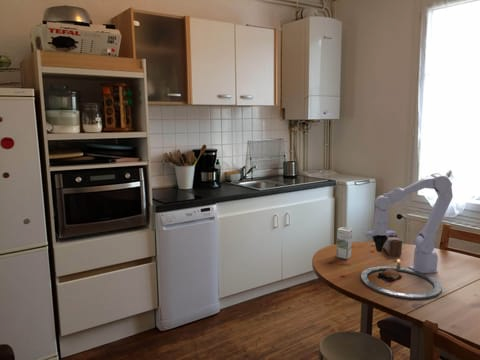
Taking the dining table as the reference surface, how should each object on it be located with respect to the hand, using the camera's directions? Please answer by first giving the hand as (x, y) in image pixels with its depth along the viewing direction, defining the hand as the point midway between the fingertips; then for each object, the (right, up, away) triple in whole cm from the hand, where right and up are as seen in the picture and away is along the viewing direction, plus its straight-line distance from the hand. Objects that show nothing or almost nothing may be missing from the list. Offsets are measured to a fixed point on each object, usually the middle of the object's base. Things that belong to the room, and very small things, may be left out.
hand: (378, 251), depth 181 cm
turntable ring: (+4, -10, -14) cm, 17 cm away
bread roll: (+1, -10, -10) cm, 14 cm away
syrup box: (-13, -6, +13) cm, 19 cm away
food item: (+15, -5, +23) cm, 27 cm away
